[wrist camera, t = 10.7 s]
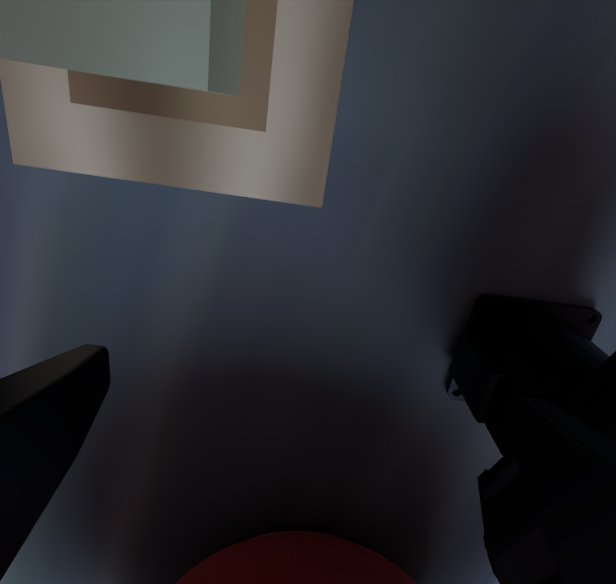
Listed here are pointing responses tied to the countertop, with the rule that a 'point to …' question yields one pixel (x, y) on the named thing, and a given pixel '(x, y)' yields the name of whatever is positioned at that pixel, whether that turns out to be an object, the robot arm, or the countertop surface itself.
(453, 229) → the countertop surface
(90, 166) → the birch base
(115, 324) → the countertop surface
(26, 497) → the robot arm
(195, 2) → the gray cube
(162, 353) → the countertop surface
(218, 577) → the mixing bowl
